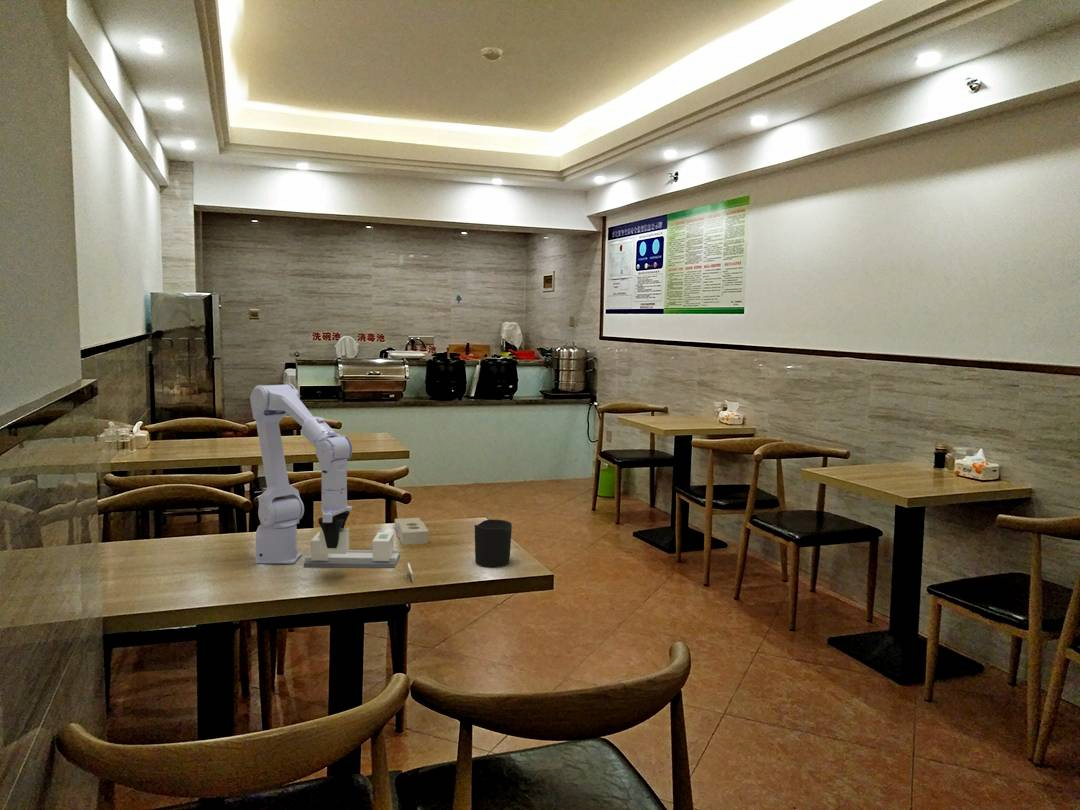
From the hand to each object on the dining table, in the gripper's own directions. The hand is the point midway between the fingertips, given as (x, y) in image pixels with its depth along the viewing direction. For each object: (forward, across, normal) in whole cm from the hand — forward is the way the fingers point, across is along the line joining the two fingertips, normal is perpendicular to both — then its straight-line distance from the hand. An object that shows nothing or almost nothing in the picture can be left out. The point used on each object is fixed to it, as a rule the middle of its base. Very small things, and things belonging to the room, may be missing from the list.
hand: (334, 545), depth 175 cm
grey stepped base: (+8, +12, -2) cm, 14 cm away
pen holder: (+8, +12, -37) cm, 40 cm away
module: (+2, 0, 0) cm, 2 cm away
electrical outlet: (+8, +36, -14) cm, 40 cm away
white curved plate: (+8, 0, -16) cm, 18 cm away
